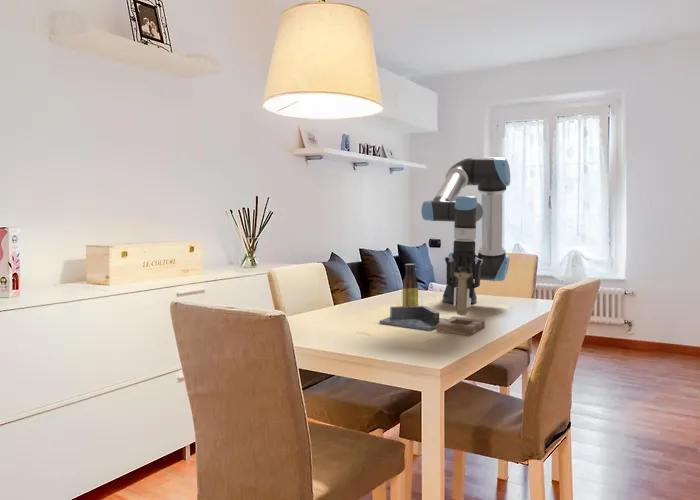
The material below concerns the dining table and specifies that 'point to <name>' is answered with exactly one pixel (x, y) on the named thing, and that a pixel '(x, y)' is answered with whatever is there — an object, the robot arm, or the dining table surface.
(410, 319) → the v cradle
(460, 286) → the handle
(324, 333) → the dining table surface
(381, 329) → the dining table surface
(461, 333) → the walnut collar
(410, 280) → the sauce bottle
